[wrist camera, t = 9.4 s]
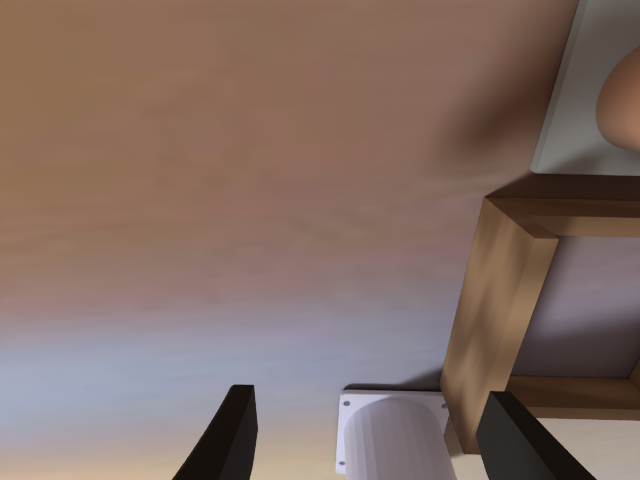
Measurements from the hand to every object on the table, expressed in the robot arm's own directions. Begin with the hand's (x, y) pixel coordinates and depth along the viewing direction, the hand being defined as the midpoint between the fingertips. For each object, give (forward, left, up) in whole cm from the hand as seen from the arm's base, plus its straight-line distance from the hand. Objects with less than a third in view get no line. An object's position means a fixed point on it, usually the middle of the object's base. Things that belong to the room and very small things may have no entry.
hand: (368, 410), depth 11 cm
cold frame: (-4, -14, -10) cm, 18 cm away
